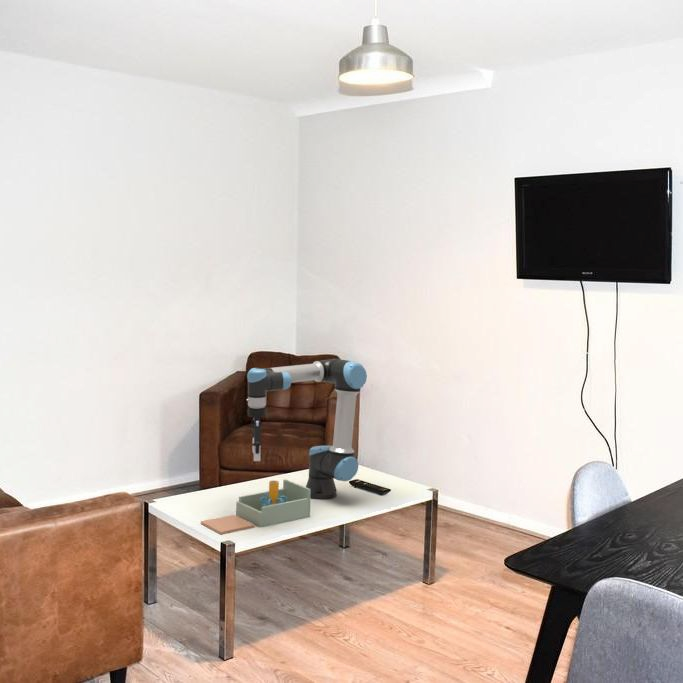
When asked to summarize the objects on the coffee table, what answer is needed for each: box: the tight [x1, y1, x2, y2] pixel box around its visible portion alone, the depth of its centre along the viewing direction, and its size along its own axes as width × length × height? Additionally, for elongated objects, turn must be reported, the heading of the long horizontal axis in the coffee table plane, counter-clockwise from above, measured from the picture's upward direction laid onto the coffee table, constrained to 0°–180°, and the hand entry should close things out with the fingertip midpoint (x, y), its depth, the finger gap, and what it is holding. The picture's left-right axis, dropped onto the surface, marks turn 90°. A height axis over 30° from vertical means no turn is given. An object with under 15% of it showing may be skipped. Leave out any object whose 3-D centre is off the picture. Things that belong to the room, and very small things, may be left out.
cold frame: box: [235, 479, 311, 528], centre depth 348 cm, size 25×18×12 cm
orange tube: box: [259, 479, 288, 506], centre depth 348 cm, size 12×10×15 cm
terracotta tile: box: [200, 514, 256, 535], centre depth 335 cm, size 16×16×1 cm
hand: (256, 456), depth 341 cm, fingers open, 13 cm apart
